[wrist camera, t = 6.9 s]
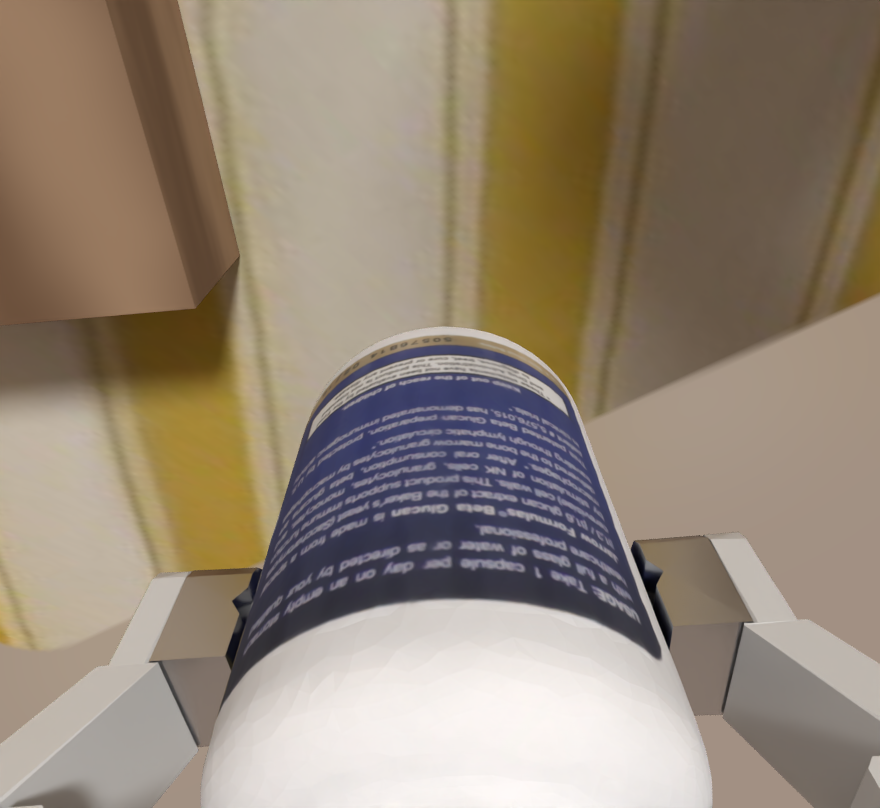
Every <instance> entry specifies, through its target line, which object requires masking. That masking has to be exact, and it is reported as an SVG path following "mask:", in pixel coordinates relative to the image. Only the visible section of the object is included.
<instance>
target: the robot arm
mask: <svg viewBox="0 0 880 808" xmlns="http://www.w3.org/2000/svg"><path fill="white" fill-rule="evenodd" d="M631 553H632V556H633V558H634V561H635V563H636V566H637V568H638V571H639V574H640V576H641V579H642V581H643V584H644V587H645V589H646V592H647V594H648V597H649V600H650V602H651V605H652V608H653V610H654V613H655V616H656V618H657V621H658V624H659V626H660V629H661V631H662V634H663V636H664V639H665V642H666V644H667V647H668V649H669V652H670V654H671V657H672V659H673V662H674V664H675V667H676V669H677V672H678V674H679V677H680V680H681V682H682V685H683V688H684V690H685V693H686V696H687V699H688V701H689V704H690V707H691V709H692V712H693V714H694V716H695V715H723V719H724V720H726V722H727V723H728V724H729V725H730V726H732V727H733V728H734V729H735V730H736V731H737V732H738V733H739V734H740V735H741V736H742V737H743V738H744V739H745V740H746V741H747V742H748V743H749V744H750V745H751V746H752V747H753V748H754V749H755V750H756V751H757V752H758V753H759V754H760V755H761V756H762V757H763V758H764V759H765V760H766V761H767V762H768V763H769V764H770V765H771V766H772V767H773V768H774V769H775V770H776V771H777V772H778V773H779V774H780V775H781V776H783V778H784V779H786V781H788V782H789V783H790V784H791V785H792V786H793V787H794V788H795V789H796V790H797V791H798V792H799V793H800V794H801V795H802V796H803V797H804V798H805V799H806V800H807V801H808V802H809V803H810V804H811V805H812V806H813V807H814V808H880V664H879V663H877V662H876V661H874V660H873V659H871V658H869V657H868V656H866V655H865V654H863V653H861V652H860V651H858V650H857V649H855V648H853V647H852V646H850V645H849V644H847V643H846V642H844V641H842V640H841V639H839V638H837V637H836V636H834V635H833V634H831V633H830V632H828V631H826V630H825V629H823V628H822V627H820V626H818V625H817V624H815V623H814V622H812V621H811V620H797V618H796V617H795V615H794V614H793V612H792V611H791V609H790V607H789V605H788V604H787V602H786V601H785V599H784V598H783V596H782V594H781V593H780V591H779V590H778V588H777V586H776V585H775V583H774V582H773V580H772V578H771V577H770V575H769V574H768V572H767V570H766V569H765V567H764V566H763V564H762V562H761V561H760V559H759V558H758V556H757V555H756V553H755V551H754V550H753V548H752V547H751V545H750V543H749V542H748V540H747V539H746V537H745V536H744V535H742V534H741V533H739V532H732V533H720V534H710V535H709V534H708V535H703V536H700V535H699V536H687V537H674V538H662V539H649V540H636V541H634V542H633V545H632V547H631ZM261 573H262V569H260V568H239V569H217V570H195V571H192V572H167V573H159V574H158V575H157V576H156V577H155V578H153V579H152V581H151V582H150V584H149V586H148V588H147V590H146V592H145V594H144V596H143V598H142V600H141V602H140V604H139V606H138V608H137V609H136V611H135V613H134V615H133V617H132V619H131V621H130V623H129V625H128V627H127V629H126V631H125V633H124V635H123V637H122V639H121V641H120V643H119V645H118V647H117V649H116V651H115V653H114V655H113V657H112V659H111V660H110V662H109V665H108V666H98V667H96V668H95V669H94V670H92V671H91V672H90V673H89V674H87V675H86V676H85V677H84V678H82V679H81V680H80V681H79V682H77V684H75V685H74V686H72V687H71V688H70V689H69V690H67V691H66V692H65V693H64V694H62V695H61V696H60V697H59V698H58V699H56V700H55V701H54V702H53V703H51V704H50V705H49V706H48V707H46V708H45V709H44V710H43V711H41V712H40V713H39V714H38V715H37V716H35V717H34V718H33V719H31V720H30V721H29V722H28V723H26V724H25V725H24V726H23V727H21V728H20V729H19V730H18V731H16V732H15V733H14V734H13V735H11V736H10V737H9V738H8V739H6V740H5V741H4V742H3V743H1V744H0V808H152V807H153V806H154V805H155V804H156V802H157V801H158V800H159V799H160V798H161V796H162V795H163V794H164V792H165V791H166V790H167V789H168V788H169V786H170V785H171V784H172V783H173V781H174V780H175V779H176V778H177V777H178V775H179V774H180V773H181V772H182V770H183V769H184V768H185V767H186V765H187V764H188V763H189V762H190V761H191V759H192V758H193V757H194V756H195V754H196V753H197V752H198V747H203V746H209V745H210V741H211V738H212V734H213V730H214V725H215V722H216V719H217V715H218V712H219V709H220V705H221V702H222V699H223V695H224V692H225V688H226V685H227V682H228V679H229V676H230V673H231V670H232V667H233V663H234V660H235V657H236V653H237V650H238V647H239V644H240V640H241V637H242V634H243V631H244V627H245V624H246V621H247V618H248V615H249V612H250V608H251V605H252V602H253V599H254V596H255V593H256V590H257V586H258V583H259V580H260V576H261Z"/></svg>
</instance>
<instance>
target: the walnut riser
mask: <svg viewBox="0 0 880 808" xmlns="http://www.w3.org/2000/svg"><path fill="white" fill-rule="evenodd" d="M239 256H240V254H239V250H238V246H237V242H236V238H235V234H234V230H233V226H232V221H231V217H230V213H229V209H228V205H227V201H226V197H225V193H224V189H223V185H222V181H221V177H220V173H219V168H218V164H217V160H216V156H215V152H214V148H213V144H212V140H211V136H210V132H209V128H208V124H207V120H206V115H205V111H204V107H203V103H202V99H201V95H200V91H199V87H198V83H197V79H196V75H195V71H194V67H193V62H192V58H191V54H190V50H189V46H188V42H187V38H186V34H185V30H184V26H183V22H182V18H181V14H180V9H179V5H178V1H177V0H0V326H2V325H13V324H25V323H36V322H47V321H59V320H70V319H81V318H93V317H104V316H115V315H127V314H138V313H149V312H161V311H172V310H183V309H195V308H196V307H197V306H198V305H199V304H200V302H201V301H202V300H203V299H204V298H205V296H206V295H207V294H208V293H209V292H210V290H211V289H212V288H213V287H214V286H215V284H216V283H217V282H218V281H219V280H220V278H221V277H222V276H223V275H224V274H225V272H226V271H227V270H228V269H229V268H230V266H231V265H232V264H233V263H234V262H235V261H236V259H237V258H238V257H239Z"/></svg>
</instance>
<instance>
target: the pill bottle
mask: <svg viewBox="0 0 880 808" xmlns="http://www.w3.org/2000/svg"><path fill="white" fill-rule="evenodd" d="M201 808H712V778H711V773H710V768H709V763H708V758H707V754H706V749H705V747H704V743H703V740H702V737H701V735H700V732H699V729H698V726H697V723H696V720H695V717H694V714H693V712H692V709H691V707H690V704H689V701H688V699H687V696H686V693H685V690H684V688H683V685H682V682H681V680H680V677H679V674H678V672H677V669H676V667H675V664H674V662H673V659H672V657H671V654H670V652H669V649H668V647H667V644H666V642H665V639H664V636H663V634H662V631H661V629H660V626H659V624H658V621H657V618H656V616H655V613H654V610H653V608H652V605H651V602H650V600H649V597H648V594H647V592H646V589H645V587H644V584H643V581H642V579H641V576H640V574H639V571H638V568H637V566H636V563H635V561H634V558H633V556H632V553H631V550H630V548H629V545H628V543H627V540H626V537H625V535H624V532H623V529H622V527H621V524H620V522H619V519H618V517H617V514H616V511H615V509H614V506H613V503H612V501H611V498H610V496H609V493H608V491H607V488H606V485H605V483H604V480H603V477H602V474H601V472H600V469H599V466H598V463H597V460H596V458H595V455H594V452H593V449H592V446H591V444H590V441H589V438H588V436H587V433H586V430H585V427H584V425H583V422H582V419H581V417H580V414H579V412H578V409H577V407H576V404H575V402H574V400H573V398H572V396H571V395H570V393H569V391H568V390H567V388H566V387H565V385H564V384H563V383H562V382H561V380H560V379H559V378H558V376H557V375H556V374H555V373H554V372H553V371H552V370H551V369H550V368H549V367H548V366H547V365H546V364H545V363H544V362H543V361H541V360H540V359H539V358H538V357H536V356H535V355H534V354H532V353H531V352H529V351H528V350H526V349H524V348H523V347H521V346H520V345H518V344H516V343H514V342H512V341H510V340H508V339H506V338H503V337H500V336H497V335H494V334H491V333H488V332H484V331H479V330H475V329H469V328H462V327H430V328H423V329H417V330H412V331H408V332H404V333H400V334H397V335H394V336H392V337H389V338H386V339H384V340H381V341H379V342H377V343H375V344H373V345H372V346H370V347H368V348H366V349H365V350H363V351H361V352H360V353H359V354H357V355H356V356H355V357H354V358H352V359H351V360H350V361H348V362H347V363H346V364H345V365H344V366H343V367H342V368H341V369H340V370H339V371H338V372H337V373H336V374H335V375H334V376H333V377H332V379H331V380H330V381H329V382H328V384H327V385H326V386H325V388H324V389H323V391H322V393H321V394H320V396H319V398H318V400H317V402H316V404H315V406H314V408H313V410H312V413H311V416H310V418H309V421H308V423H307V426H306V429H305V432H304V435H303V438H302V441H301V444H300V448H299V451H298V455H297V458H296V461H295V464H294V468H293V471H292V474H291V478H290V481H289V484H288V488H287V491H286V494H285V498H284V501H283V504H282V507H281V511H280V514H279V516H278V519H277V523H276V526H275V529H274V532H273V535H272V538H271V541H270V545H269V549H268V553H267V556H266V559H265V562H264V566H263V570H262V573H261V576H260V580H259V583H258V586H257V590H256V593H255V596H254V599H253V602H252V605H251V608H250V612H249V615H248V618H247V621H246V624H245V627H244V631H243V634H242V637H241V640H240V644H239V647H238V650H237V653H236V657H235V660H234V663H233V667H232V670H231V673H230V676H229V679H228V682H227V685H226V688H225V692H224V695H223V699H222V702H221V705H220V709H219V712H218V715H217V719H216V722H215V725H214V730H213V734H212V738H211V741H210V745H209V749H208V752H207V756H206V759H205V763H204V767H203V774H202V782H201Z"/></svg>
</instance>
